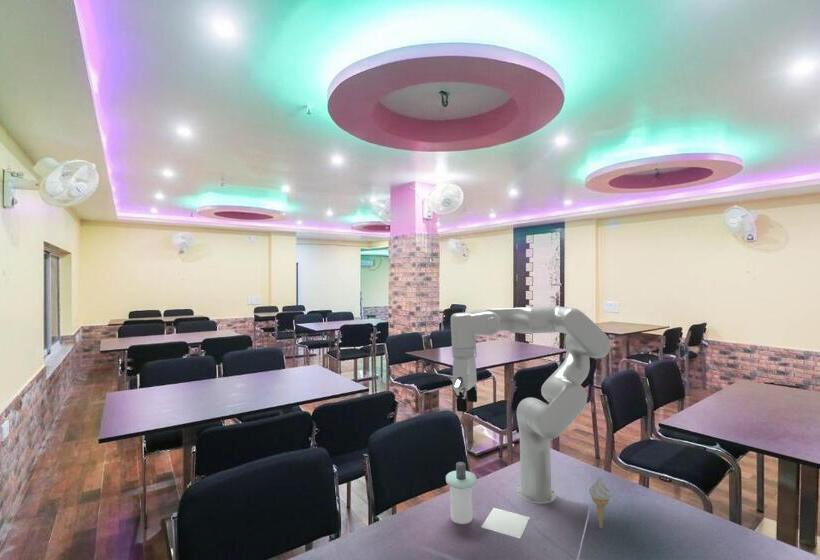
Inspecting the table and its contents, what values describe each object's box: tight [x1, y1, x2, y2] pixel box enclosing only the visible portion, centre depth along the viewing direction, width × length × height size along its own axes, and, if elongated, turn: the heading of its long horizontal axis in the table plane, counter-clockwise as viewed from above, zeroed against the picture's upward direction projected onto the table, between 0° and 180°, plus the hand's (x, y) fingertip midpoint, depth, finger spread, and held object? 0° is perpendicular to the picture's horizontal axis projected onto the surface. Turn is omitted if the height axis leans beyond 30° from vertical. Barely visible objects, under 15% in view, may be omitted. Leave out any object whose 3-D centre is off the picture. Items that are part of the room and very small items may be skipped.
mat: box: [480, 507, 530, 540], centre depth 117 cm, size 11×11×1 cm
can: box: [449, 486, 474, 525], centre depth 120 cm, size 6×6×12 cm
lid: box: [445, 461, 478, 489], centre depth 120 cm, size 9×9×5 cm
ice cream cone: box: [589, 475, 612, 530], centre depth 114 cm, size 6×6×15 cm
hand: (467, 406), depth 127 cm, fingers open, 9 cm apart
